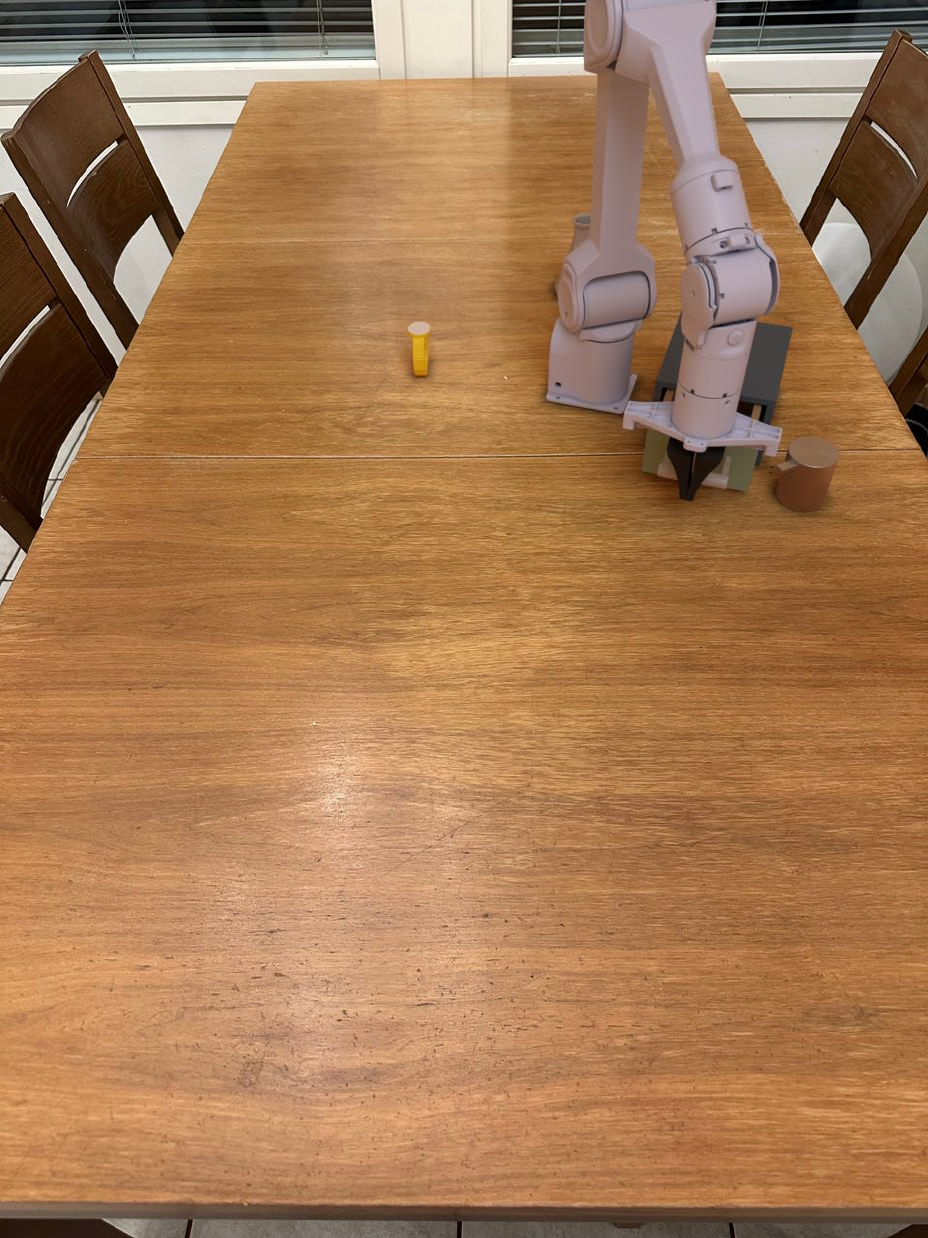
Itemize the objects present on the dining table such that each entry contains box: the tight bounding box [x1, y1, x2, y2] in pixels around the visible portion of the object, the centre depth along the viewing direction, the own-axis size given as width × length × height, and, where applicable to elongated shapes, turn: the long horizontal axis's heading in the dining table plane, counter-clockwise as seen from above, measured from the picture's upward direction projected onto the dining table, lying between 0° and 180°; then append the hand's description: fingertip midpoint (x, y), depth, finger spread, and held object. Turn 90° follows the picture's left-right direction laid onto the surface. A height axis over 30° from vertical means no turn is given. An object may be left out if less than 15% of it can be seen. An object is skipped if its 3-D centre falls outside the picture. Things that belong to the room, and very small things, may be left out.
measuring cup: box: [774, 435, 840, 513], centre depth 98 cm, size 7×5×6 cm
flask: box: [553, 212, 591, 297], centre depth 126 cm, size 7×7×10 cm
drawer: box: [641, 388, 762, 493], centre depth 101 cm, size 18×11×7 cm, turn 161°
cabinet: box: [652, 310, 794, 467], centre depth 107 cm, size 15×13×9 cm
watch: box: [407, 321, 432, 377], centre depth 116 cm, size 6×3×6 cm, turn 178°
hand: (687, 494), depth 95 cm, fingers closed, pressing on drawer
